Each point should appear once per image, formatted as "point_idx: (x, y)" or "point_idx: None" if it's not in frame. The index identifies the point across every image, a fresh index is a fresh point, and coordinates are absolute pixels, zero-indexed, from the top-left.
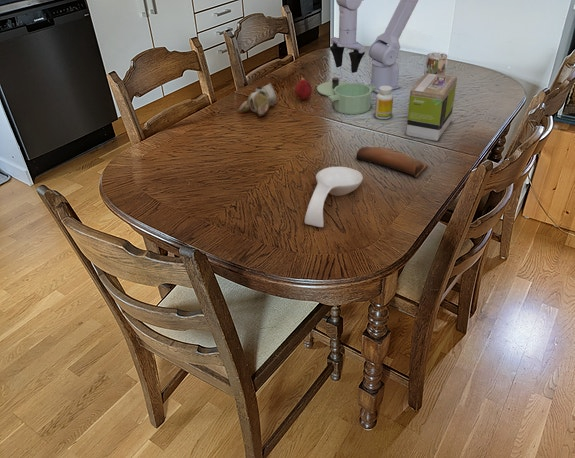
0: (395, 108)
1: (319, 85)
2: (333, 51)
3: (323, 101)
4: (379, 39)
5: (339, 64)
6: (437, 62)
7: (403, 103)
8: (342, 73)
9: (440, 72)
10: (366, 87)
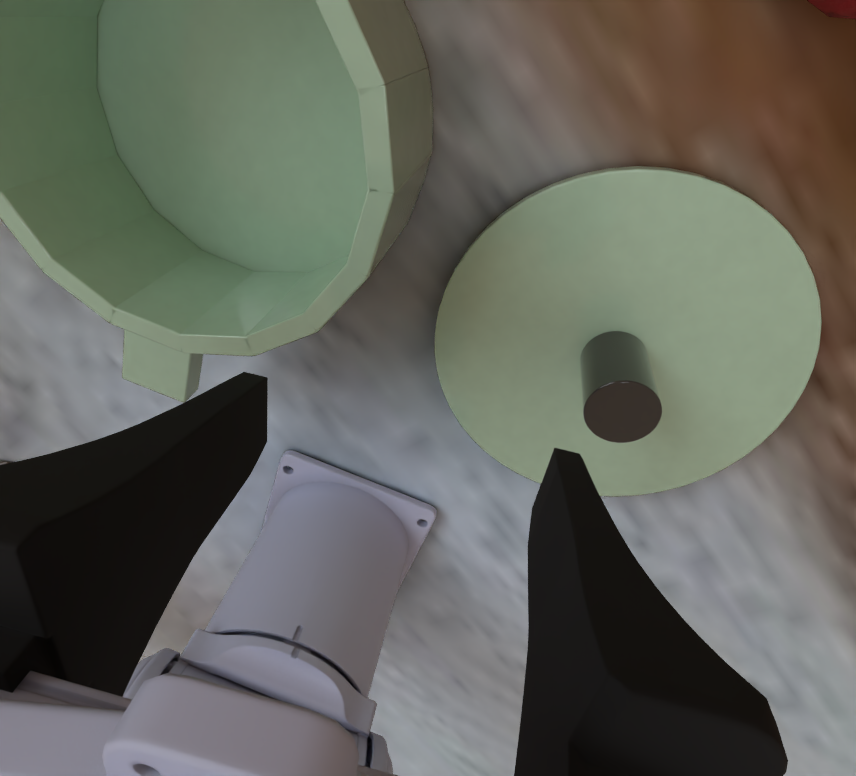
0: (23, 289)
1: (810, 335)
2: (629, 638)
3: (580, 38)
4: None
5: (543, 503)
6: None
7: (63, 386)
8: (735, 636)
9: None
10: (151, 313)
